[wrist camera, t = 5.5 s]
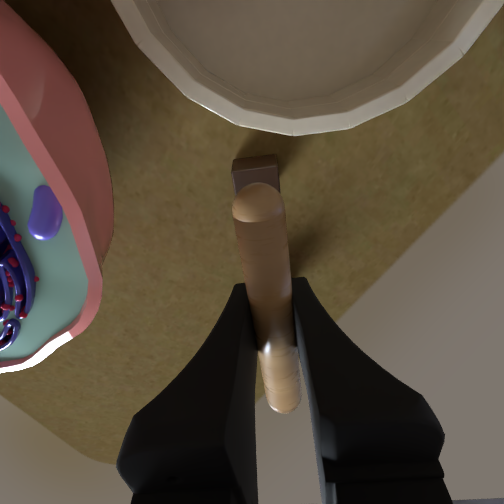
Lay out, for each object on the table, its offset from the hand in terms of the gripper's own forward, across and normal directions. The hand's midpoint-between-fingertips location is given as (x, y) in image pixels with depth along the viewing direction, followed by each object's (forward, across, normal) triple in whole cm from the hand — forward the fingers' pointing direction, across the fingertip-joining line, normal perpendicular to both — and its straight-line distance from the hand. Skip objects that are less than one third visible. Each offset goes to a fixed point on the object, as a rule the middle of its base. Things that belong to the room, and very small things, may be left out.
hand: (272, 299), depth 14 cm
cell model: (+8, +14, -7) cm, 18 cm away
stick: (0, 0, 0) cm, 0 cm away
